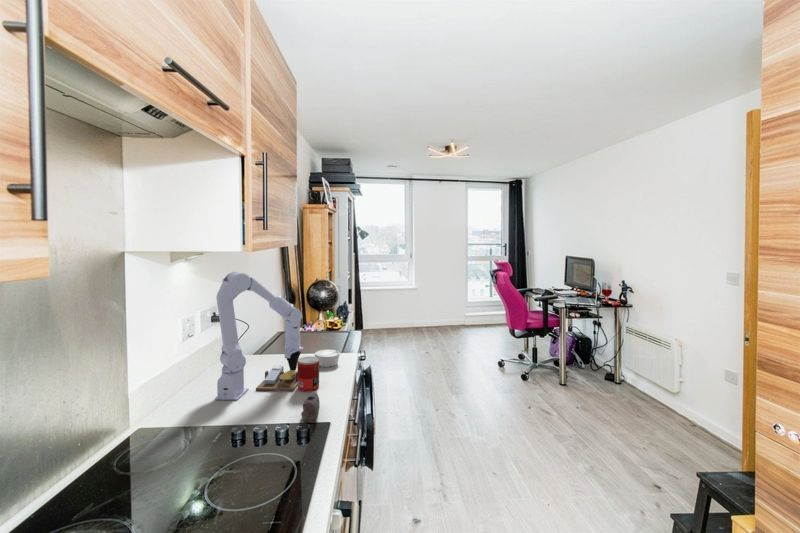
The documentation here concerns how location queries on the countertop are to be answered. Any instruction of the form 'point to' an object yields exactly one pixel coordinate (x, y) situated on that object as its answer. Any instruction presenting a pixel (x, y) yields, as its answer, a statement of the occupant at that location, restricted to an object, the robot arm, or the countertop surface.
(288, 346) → the robot arm
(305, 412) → the perforated stone tool
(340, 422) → the countertop surface
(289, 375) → the yellow rectangular block
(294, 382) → the walnut board
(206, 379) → the countertop surface
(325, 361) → the ramekin
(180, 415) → the countertop surface
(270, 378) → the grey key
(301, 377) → the canned food
